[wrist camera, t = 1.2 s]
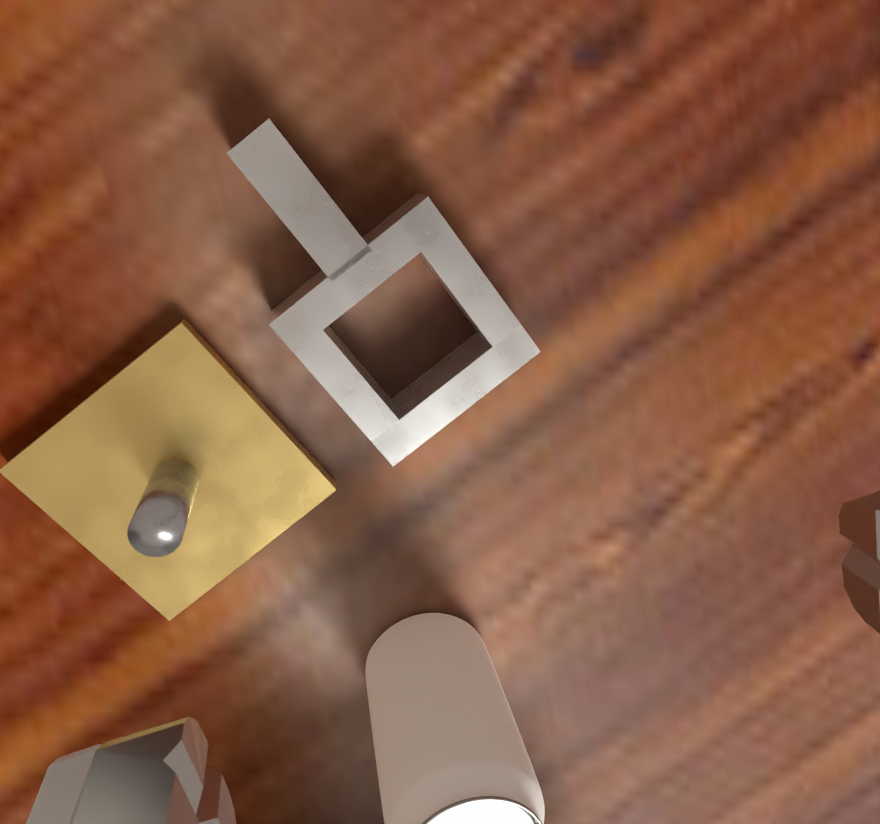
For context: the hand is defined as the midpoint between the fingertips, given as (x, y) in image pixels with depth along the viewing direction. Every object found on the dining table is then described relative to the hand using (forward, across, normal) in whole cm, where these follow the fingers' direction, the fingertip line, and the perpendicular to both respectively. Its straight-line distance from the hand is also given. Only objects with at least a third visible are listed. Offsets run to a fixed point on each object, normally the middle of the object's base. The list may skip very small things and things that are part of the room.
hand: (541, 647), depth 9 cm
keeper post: (+26, +10, +6) cm, 28 cm away
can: (+26, +2, +19) cm, 33 cm away
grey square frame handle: (+26, -1, -1) cm, 26 cm away
